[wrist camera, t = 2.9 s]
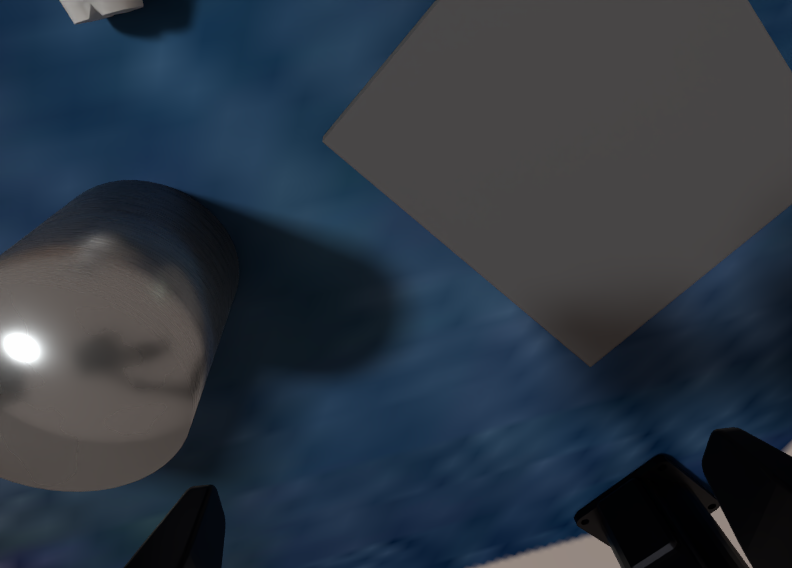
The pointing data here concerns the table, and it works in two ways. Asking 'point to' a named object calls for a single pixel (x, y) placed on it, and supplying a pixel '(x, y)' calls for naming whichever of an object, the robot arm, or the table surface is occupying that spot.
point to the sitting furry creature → (98, 9)
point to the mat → (581, 148)
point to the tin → (109, 335)
